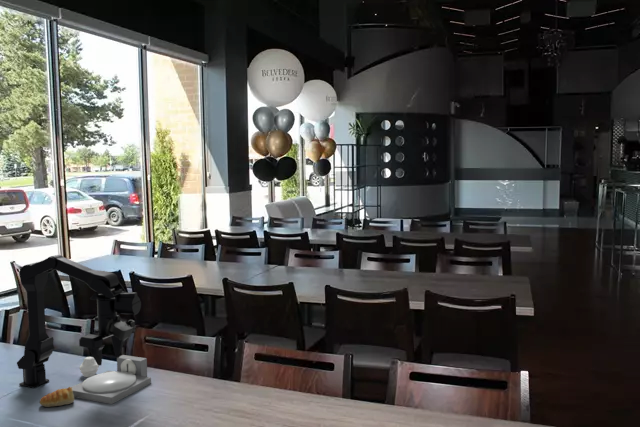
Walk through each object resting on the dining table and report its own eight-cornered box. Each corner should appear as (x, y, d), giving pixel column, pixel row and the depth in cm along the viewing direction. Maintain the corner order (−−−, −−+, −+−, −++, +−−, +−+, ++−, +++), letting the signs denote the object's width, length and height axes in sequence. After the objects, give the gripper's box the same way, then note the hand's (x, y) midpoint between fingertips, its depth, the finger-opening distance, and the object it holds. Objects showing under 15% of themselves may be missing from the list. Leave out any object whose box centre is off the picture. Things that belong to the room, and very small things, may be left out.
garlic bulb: (76, 377, 193) (75, 357, 192) (93, 372, 197) (92, 352, 197) (85, 381, 189) (84, 360, 188) (102, 376, 193) (102, 356, 193)
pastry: (41, 410, 165) (40, 398, 165) (38, 402, 171) (37, 390, 170) (76, 402, 170) (75, 390, 170) (72, 394, 176) (71, 383, 175)
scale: (66, 395, 176) (65, 373, 176) (114, 373, 196) (113, 353, 195) (111, 404, 170) (111, 381, 169) (157, 380, 189) (156, 359, 189)
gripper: (105, 322, 168) (107, 374, 169) (147, 308, 185) (148, 355, 186) (77, 319, 172) (78, 369, 173) (120, 306, 189) (121, 351, 191)
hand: (108, 361), depth 181 cm, fingers open, 8 cm apart
